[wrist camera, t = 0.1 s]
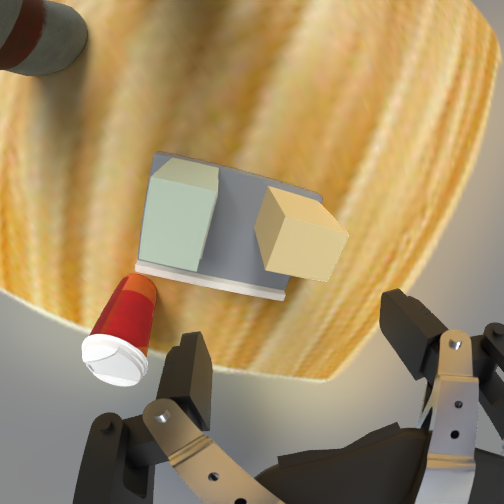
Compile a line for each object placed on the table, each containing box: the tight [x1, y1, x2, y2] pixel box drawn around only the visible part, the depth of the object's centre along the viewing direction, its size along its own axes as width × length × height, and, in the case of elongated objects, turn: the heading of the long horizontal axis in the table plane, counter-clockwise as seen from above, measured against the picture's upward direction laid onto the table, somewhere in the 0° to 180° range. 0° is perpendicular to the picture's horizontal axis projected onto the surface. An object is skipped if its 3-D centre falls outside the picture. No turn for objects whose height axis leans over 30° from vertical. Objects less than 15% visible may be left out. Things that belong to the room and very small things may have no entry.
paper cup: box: [82, 274, 157, 386], centre depth 30 cm, size 8×8×14 cm
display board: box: [135, 151, 323, 301], centre depth 31 cm, size 14×19×3 cm
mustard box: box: [254, 186, 350, 283], centre depth 27 cm, size 5×6×9 cm
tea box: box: [139, 157, 219, 272], centre depth 24 cm, size 5×7×9 cm
